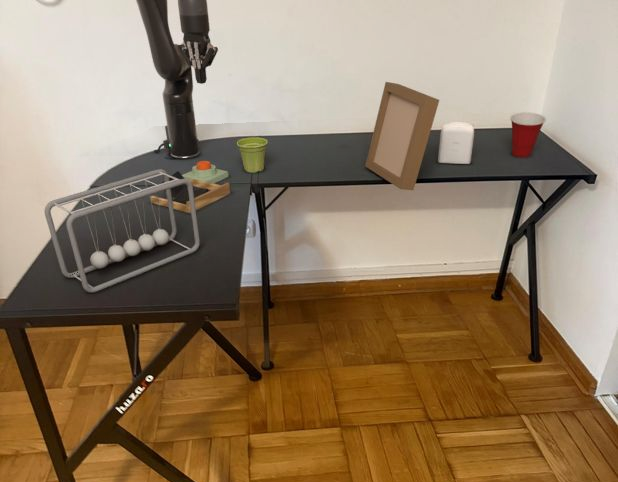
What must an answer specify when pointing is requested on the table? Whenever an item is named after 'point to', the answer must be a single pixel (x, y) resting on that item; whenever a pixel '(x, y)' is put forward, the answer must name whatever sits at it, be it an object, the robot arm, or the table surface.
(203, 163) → the power button
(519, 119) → the plastic cup
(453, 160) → the photo printer
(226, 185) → the wooden frame
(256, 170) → the plant pot
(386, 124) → the photo frame
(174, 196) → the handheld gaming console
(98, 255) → the newton's cradle
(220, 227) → the table surface
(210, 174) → the switch box
